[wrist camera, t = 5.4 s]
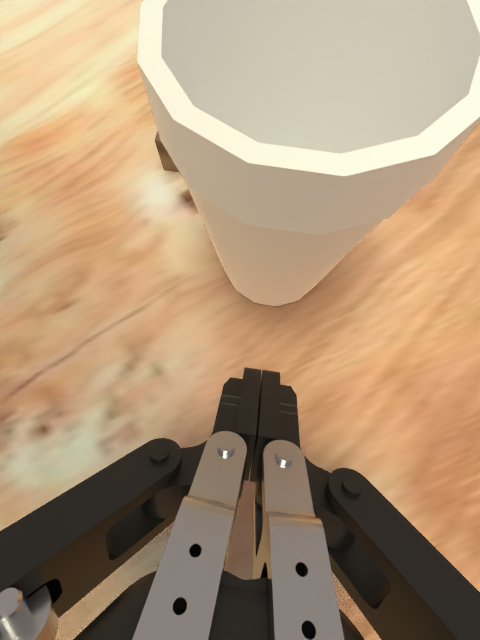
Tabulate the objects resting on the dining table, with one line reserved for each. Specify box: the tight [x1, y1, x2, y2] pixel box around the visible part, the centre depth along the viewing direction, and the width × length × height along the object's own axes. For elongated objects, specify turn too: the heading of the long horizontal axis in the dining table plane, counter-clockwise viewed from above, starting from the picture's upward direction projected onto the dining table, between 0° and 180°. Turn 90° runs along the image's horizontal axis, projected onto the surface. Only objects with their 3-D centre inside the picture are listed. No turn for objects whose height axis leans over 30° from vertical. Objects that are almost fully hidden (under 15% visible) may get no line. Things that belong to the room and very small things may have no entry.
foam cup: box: [137, 0, 480, 306], centre depth 14 cm, size 10×9×13 cm
